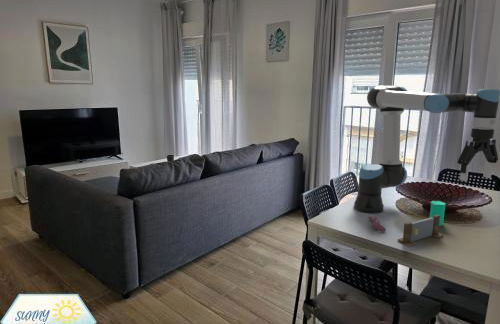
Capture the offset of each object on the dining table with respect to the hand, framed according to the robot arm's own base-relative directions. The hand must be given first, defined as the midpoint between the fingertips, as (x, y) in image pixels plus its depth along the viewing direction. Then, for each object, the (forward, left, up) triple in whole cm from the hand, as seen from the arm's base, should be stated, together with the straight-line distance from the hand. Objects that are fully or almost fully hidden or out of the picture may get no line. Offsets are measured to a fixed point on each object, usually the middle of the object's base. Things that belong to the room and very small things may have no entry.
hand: (475, 179), depth 139 cm
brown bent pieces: (-8, -19, -26) cm, 33 cm away
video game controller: (-25, -27, -27) cm, 46 cm away
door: (-8, -19, -26) cm, 33 cm away
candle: (-16, +2, -27) cm, 31 cm away
